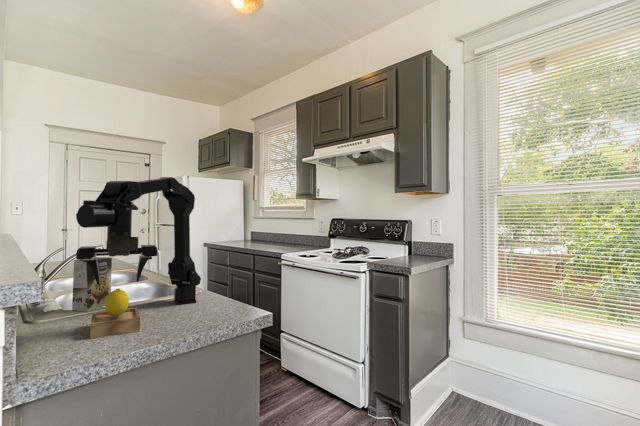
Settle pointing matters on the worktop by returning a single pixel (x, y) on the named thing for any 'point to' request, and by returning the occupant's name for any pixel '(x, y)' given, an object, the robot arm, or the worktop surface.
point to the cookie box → (91, 285)
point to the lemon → (116, 303)
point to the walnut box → (114, 323)
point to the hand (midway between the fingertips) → (118, 282)
